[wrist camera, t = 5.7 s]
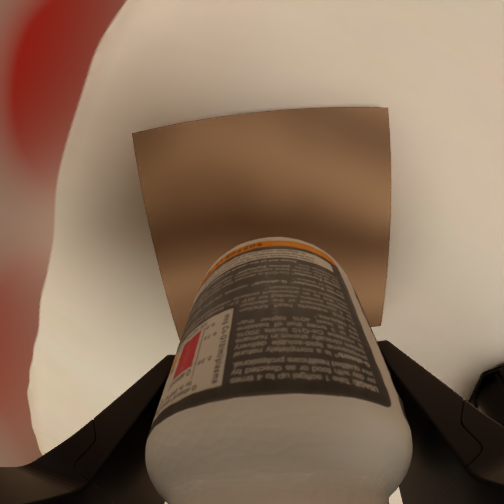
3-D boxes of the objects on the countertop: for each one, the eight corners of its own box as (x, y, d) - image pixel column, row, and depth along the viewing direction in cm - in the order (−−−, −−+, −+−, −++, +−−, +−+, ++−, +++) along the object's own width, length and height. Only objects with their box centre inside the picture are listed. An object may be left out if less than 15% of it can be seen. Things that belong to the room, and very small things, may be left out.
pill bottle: (173, 310, 12) (74, 558, 3) (264, 196, 10) (232, 604, 1) (283, 377, 13) (284, 599, 4) (381, 291, 11) (488, 546, 2)
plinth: (376, 315, 21) (380, 325, 20) (183, 330, 22) (179, 340, 21) (380, 108, 15) (387, 107, 14) (140, 132, 17) (132, 133, 15)
